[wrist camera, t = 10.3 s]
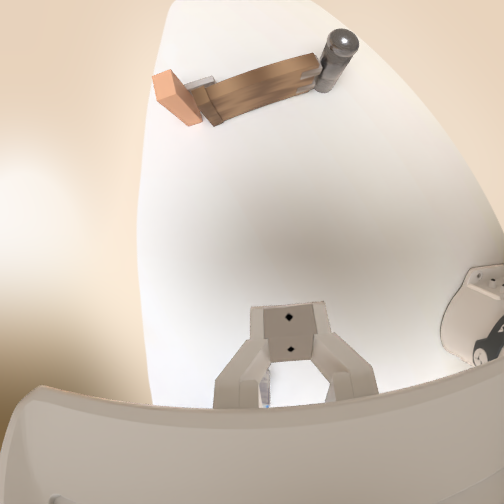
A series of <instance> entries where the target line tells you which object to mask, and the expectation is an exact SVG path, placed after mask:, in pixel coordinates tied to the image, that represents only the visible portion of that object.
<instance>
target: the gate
mask: <svg viewBox="0 0 504 504" xmlns="http://www.w3.org/2000/svg"><path fill="white" fill-rule="evenodd" d="M321 71H322V66H321V64H320V62H319V60H318V58H317V56H316V55H314V53H310V54H306V55H302V56H298V57H294V58H291V59H287V60H284V61H280V62H277V63H273V64H270V65H267V66H264V67H261V68H257V69H254V70H252V71H249V72H246V73H243V74H240V75H237V76H235V77H232V78H229V79H227V80H224V81H221V82H219V83H216V84H214V85H211V86H209V87H206V88H205V87H204V85H203V86H201V87H198V88H196V89H194V90H192V91H191V93H192V95H193V98H194V100H195V103H196V105H197V107H198V108H199V110H200V111H201V112H202V113H203V114H204V116H205V117H206V118H207V119H208V120H209V122H210V123H211V124H212V125H213V127H214V126H216V125H219V124H221V123H224V122H223V121H225V120H227V119H230V118H232V117H235V116H238V115H240V114H243V113H245V112H248V111H251V110H254V109H256V108H259V107H262V106H265V105H268V104H271V103H274V102H277V101H280V100H283V99H286V98H289V97H292V96H296V95H299V94H302V93H306V92H308V91H309V90H311V89H313V88H314V86H315V84H316V83H315V81H314V77H315V76H316V75H320V73H321Z"/></svg>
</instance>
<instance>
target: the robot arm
mask: <svg viewBox="0 0 504 504" xmlns="http://www.w3.org/2000/svg"><path fill="white" fill-rule="evenodd" d="M477 275H478V276H477ZM441 341H442V344H443V347H444V348H445V350H446V351H448V352H449V353H451V354H453V355H456V356H458V357H459V358H461V359H462V360H463V361H464V362H465V363H469V364H470V365H472V366H473V368H470V369H468V370H465V371H462V372H459V373H456V374H453V375H450V376H446V377H443V378H440V379H437V380H433V381H430V382H426V383H423V384H419V385H415V386H411V387H407V388H403V389H399V390H394V391H390V392H385V393H380V394H379V392H378V388H377V384H376V380H375V376H374V372H373V368H372V366H371V365H370V364H369V363H368V362H367V361H365V360H364V359H363V358H362V357H361V356H360V355H359V354H358V353H357V352H356V351H355V350H353V349H352V348H351V347H350V346H349V345H348V344H347V343H346V342H345V341H344V340H343V339H341V338H340V337H339V336H338V335H337V334H336V333H331V328H330V324H329V319H328V315H327V310H326V306H325V303H324V301H320V302H312V303H311V302H308V303H298V304H288V305H276V306H257V307H251V309H250V340H246V341H245V342H244V344H243V345H242V346H241V348H240V349H239V350H238V352H237V353H236V354H235V355H234V357H233V358H232V359H231V361H230V362H229V363H228V364H227V366H226V367H225V368H224V369H223V371H222V372H221V373H220V375H219V376H218V377H217V378H216V380H215V389H214V401H213V409H207V408H184V407H169V406H157V405H147V404H138V403H131V402H122V401H116V400H110V399H104V398H98V397H93V396H88V395H82V394H78V393H73V392H69V391H64V390H60V389H56V388H52V387H48V386H44V385H40V386H38V387H36V388H35V389H33V390H32V391H31V392H30V393H29V394H27V395H26V396H25V397H24V398H23V399H22V400H21V401H20V402H19V403H18V405H17V406H16V408H15V410H14V412H13V414H12V416H11V419H10V422H9V425H8V428H7V431H6V434H5V438H4V441H3V445H2V448H1V452H0V504H504V264H500V265H492V266H484V267H476V268H471V269H470V270H469V271H468V273H467V275H466V277H465V280H464V282H463V285H462V287H461V288H460V290H459V291H458V292H457V293H456V295H455V296H454V297H453V299H452V300H451V302H450V304H449V306H448V308H447V310H446V312H445V315H444V317H443V321H442V325H441ZM296 360H311V361H312V362H313V363H314V365H315V366H316V367H317V368H318V369H319V371H320V372H321V373H322V374H323V376H324V377H325V378H326V379H327V380H328V381H329V383H330V386H329V390H328V393H327V396H326V399H325V403H318V404H309V405H299V406H287V407H272V408H263V405H262V400H261V395H260V389H259V383H260V381H261V379H262V378H263V376H264V374H265V373H266V371H267V369H268V368H269V366H270V364H271V363H274V362H284V361H296Z"/></svg>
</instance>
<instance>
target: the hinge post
mask: <svg viewBox="0 0 504 504" xmlns="http://www.w3.org/2000/svg"><path fill="white" fill-rule="evenodd" d="M358 48H359V41H358V38H357V37H356V35H355V34H354V33H353V32H351V31H349V30H347V29H336V30H334V31H332V32H331V33H330V34H329V35H328V38H327V43H326V45H325V48H324V50H323V53H322V55H321V58H320V60H319V62H320V64H321V66H322V71H321V73H320V75H316V76H315V77H314V81H315V83H316V84H315V86H314V89H315V90H316V91H318V92H321V93H327V92H329V91H330V90H331V89H332V88H333V86H334V85H335V83H336V82H337V80H338V78H339V77H340V75H341V74H342V72H343V71H344V69H345V67H346V66H347V64H348V63H349V61H350V60H351V58H352V57H353V55H354V54H355V53H356V52H357V51H358Z"/></svg>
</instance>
